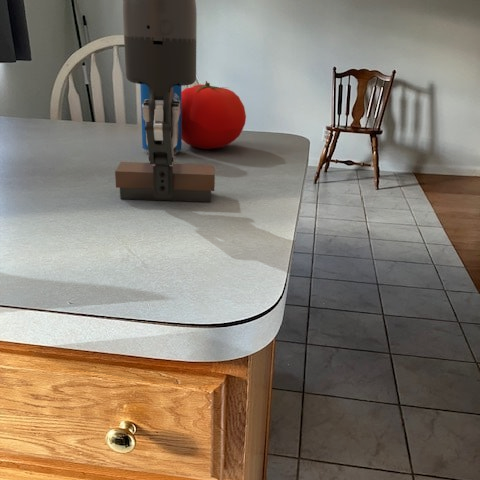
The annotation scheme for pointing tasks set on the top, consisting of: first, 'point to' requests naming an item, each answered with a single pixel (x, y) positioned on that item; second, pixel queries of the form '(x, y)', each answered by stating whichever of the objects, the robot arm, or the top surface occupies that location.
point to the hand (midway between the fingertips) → (163, 196)
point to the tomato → (210, 116)
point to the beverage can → (144, 96)
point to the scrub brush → (184, 182)
